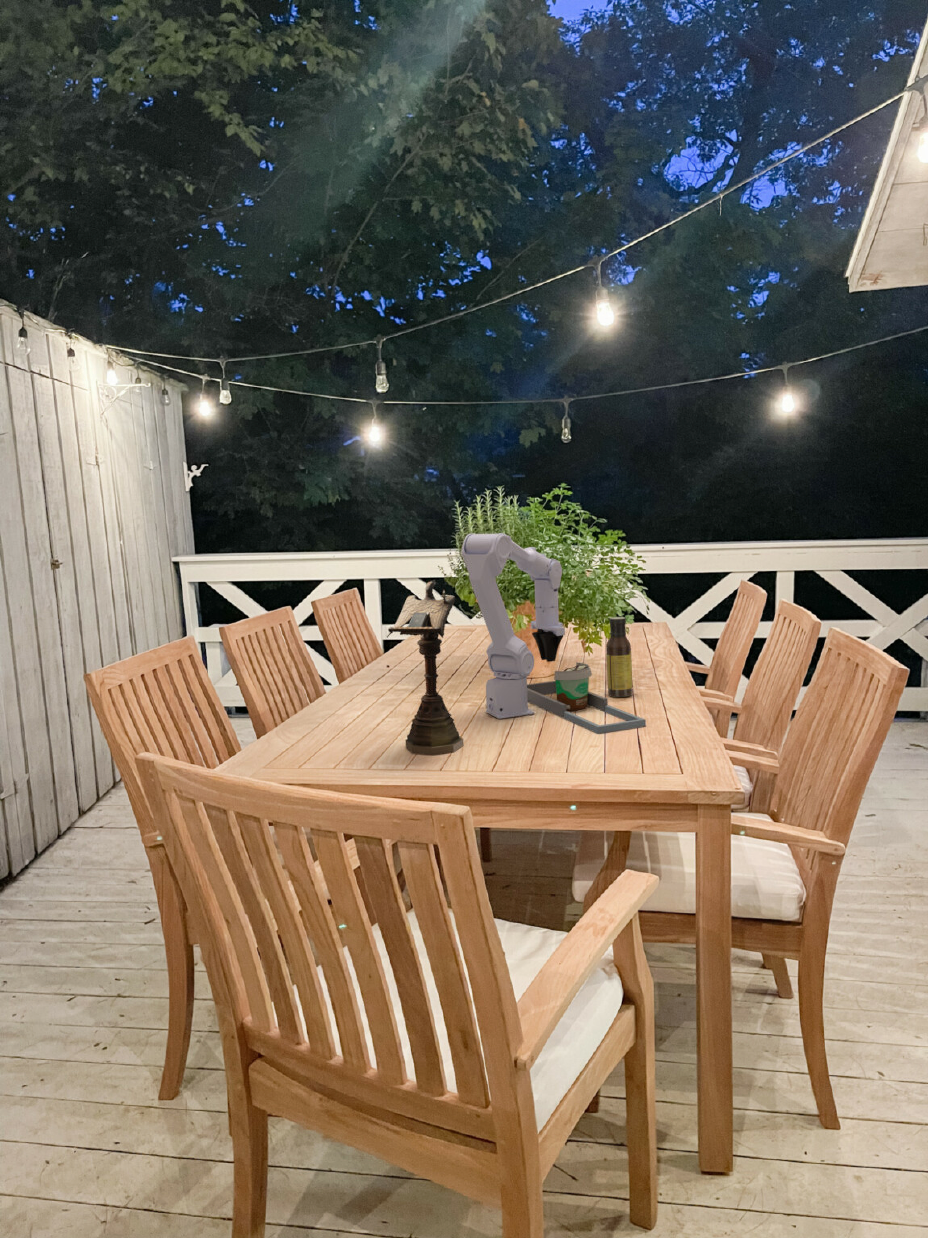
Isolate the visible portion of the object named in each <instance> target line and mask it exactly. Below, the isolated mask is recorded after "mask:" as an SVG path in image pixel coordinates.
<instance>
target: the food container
mask: <svg viewBox="0 0 928 1238" xmlns="http://www.w3.org/2000/svg"><path fill="white" fill-rule="evenodd" d="M592 675H593V673H592V670H591V667H590V665H589V664H587V663H583V662H577V661H576V664H575V666H573V667H567V668H565V669H563V670H554V675H553V677H554V678H553V681H556V693H555V694H556V700H557V701H559V702H561V703H564V704H566V711H568V712H570V713H572V712H580V711H584V710H587V709H588V705H587V704H588V691H589V684H590V683H589V682H590V677H591V676H592Z"/></svg>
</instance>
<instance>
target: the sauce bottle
mask: <svg viewBox="0 0 928 1238" xmlns="http://www.w3.org/2000/svg"><path fill="white" fill-rule="evenodd" d="M626 624H627V618H626V617H624V616H617V617H616V616H613V617H610V618H609V625H610V633H609V634H610V637H609V639H608V640H607V642H606V645H605V647H606V655H605V657H606V659H605V660H606V678H607V679H606V681H607V682H606V683H607V689H608V690H607V694H608V696H609V697H611V698H625V697H630V696H631V695H632V694H633V687H634V686H633V665H632V664H633V663H632V648H631V646H632V645H631V642H630V640H629V639H628V638H627V635H626V634H627V632H626Z"/></svg>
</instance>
